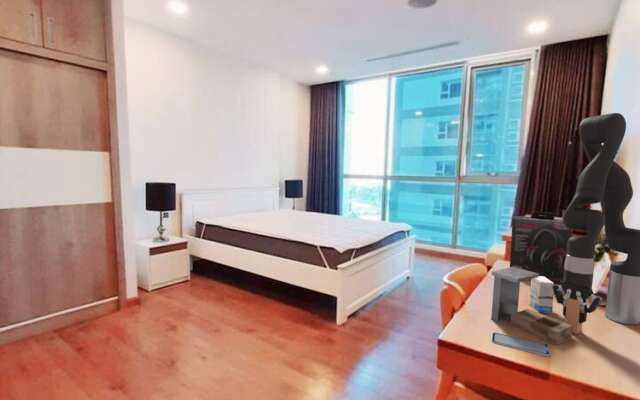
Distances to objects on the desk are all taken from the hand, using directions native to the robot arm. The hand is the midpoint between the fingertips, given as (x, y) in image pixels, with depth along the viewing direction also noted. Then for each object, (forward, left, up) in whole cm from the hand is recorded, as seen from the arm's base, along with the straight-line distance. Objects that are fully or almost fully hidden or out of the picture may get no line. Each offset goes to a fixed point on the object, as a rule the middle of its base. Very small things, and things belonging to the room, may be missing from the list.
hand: (573, 319), depth 110 cm
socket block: (+10, -5, -4) cm, 12 cm away
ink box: (-10, -15, -4) cm, 19 cm away
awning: (+10, -15, -4) cm, 18 cm away
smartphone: (+24, -4, -5) cm, 25 cm away
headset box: (-49, -36, -4) cm, 61 cm away
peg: (0, 0, -4) cm, 4 cm away
